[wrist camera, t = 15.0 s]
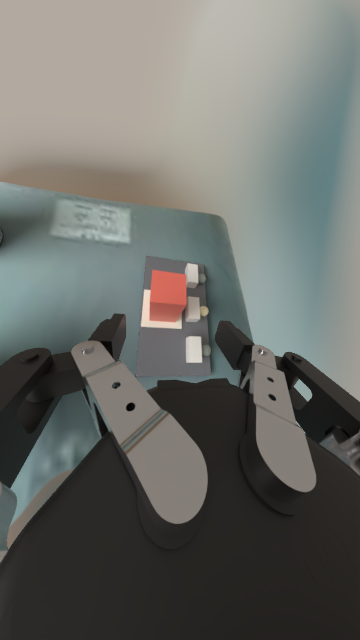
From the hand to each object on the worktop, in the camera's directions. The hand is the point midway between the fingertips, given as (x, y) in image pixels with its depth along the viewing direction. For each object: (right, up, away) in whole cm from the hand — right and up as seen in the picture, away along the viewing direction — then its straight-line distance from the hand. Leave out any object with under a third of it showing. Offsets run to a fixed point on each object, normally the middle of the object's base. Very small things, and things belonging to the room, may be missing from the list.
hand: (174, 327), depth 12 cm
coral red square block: (-2, +2, +12) cm, 13 cm away
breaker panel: (-1, +2, +14) cm, 14 cm away
